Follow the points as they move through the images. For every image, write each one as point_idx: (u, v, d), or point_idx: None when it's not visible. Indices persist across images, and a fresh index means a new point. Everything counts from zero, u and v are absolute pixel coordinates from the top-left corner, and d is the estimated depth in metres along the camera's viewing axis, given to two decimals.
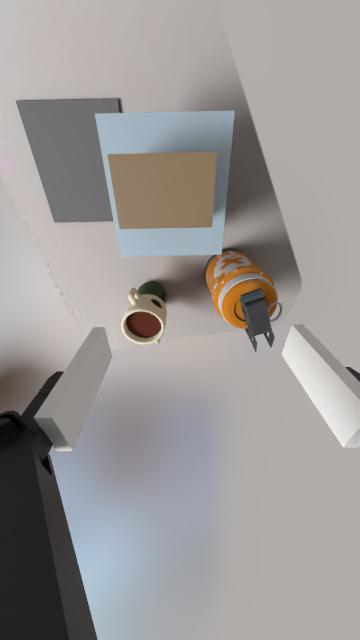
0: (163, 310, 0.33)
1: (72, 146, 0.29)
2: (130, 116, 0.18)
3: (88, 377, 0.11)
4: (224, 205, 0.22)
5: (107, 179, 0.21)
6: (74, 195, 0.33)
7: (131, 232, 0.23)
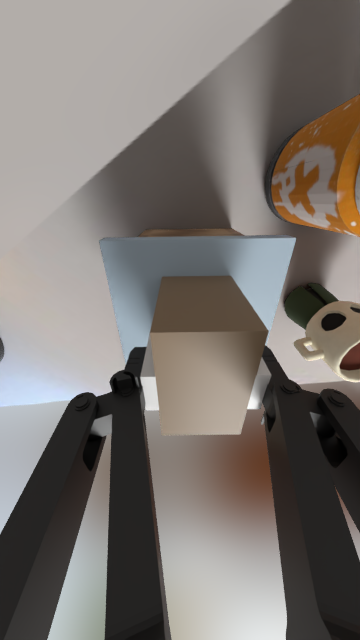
0: (350, 315, 0.20)
1: None
2: (125, 352, 0.18)
3: None
4: (213, 242, 0.13)
5: None
6: None
7: None
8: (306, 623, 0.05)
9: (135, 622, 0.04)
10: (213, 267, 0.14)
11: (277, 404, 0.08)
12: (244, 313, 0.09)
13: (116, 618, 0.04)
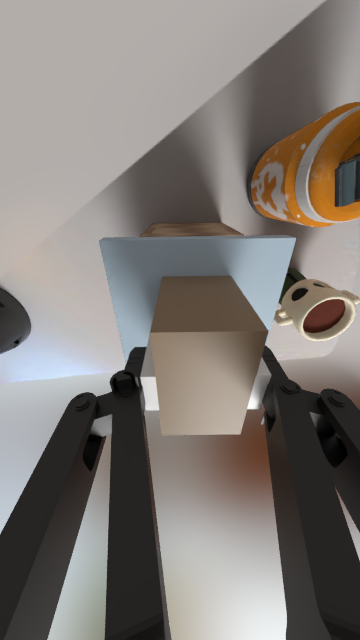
0: (311, 288, 0.27)
1: None
2: (126, 352, 0.18)
3: None
4: (213, 242, 0.13)
5: None
6: None
7: None
8: (306, 622, 0.05)
9: (135, 622, 0.04)
10: (213, 267, 0.14)
11: (277, 404, 0.08)
12: (244, 313, 0.10)
13: (116, 618, 0.04)
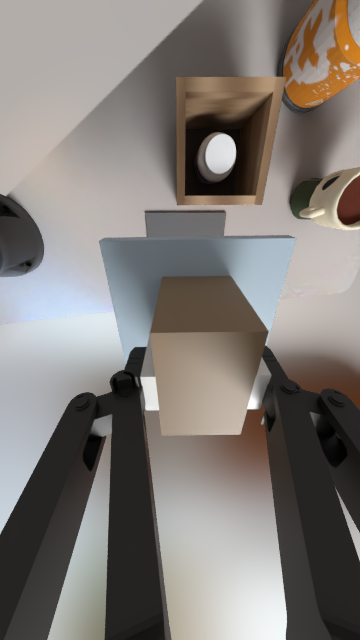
0: (345, 171, 0.26)
1: None
2: (126, 353, 0.18)
3: None
4: (213, 242, 0.13)
5: None
6: None
7: None
8: (307, 623, 0.05)
9: (135, 622, 0.04)
10: (213, 267, 0.14)
11: (277, 404, 0.08)
12: (244, 313, 0.10)
13: (116, 618, 0.04)
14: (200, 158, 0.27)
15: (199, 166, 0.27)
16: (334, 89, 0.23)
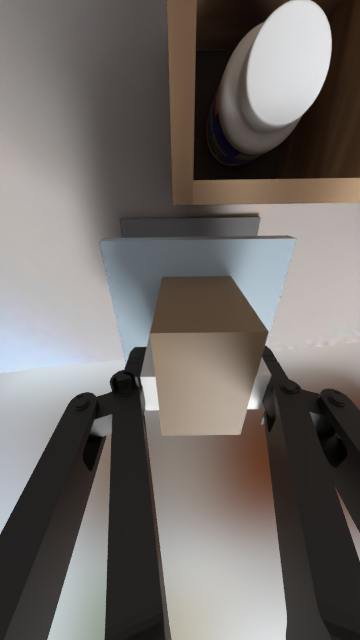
0: None
1: None
2: (125, 353, 0.18)
3: None
4: (213, 242, 0.13)
5: None
6: None
7: None
8: (306, 623, 0.05)
9: (135, 622, 0.04)
10: (213, 267, 0.14)
11: (277, 404, 0.08)
12: (244, 314, 0.10)
13: (116, 618, 0.04)
14: (227, 93, 0.11)
15: (224, 115, 0.12)
16: None
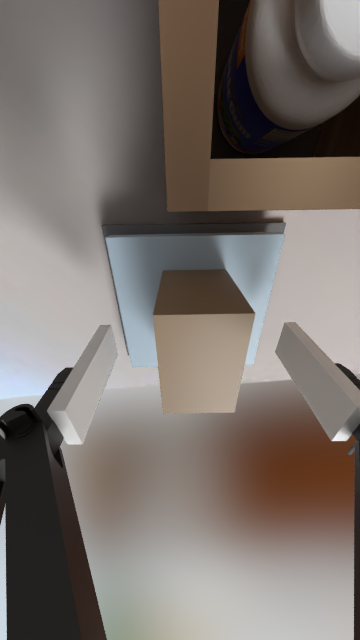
0: None
1: None
2: (129, 343, 0.19)
3: (96, 373, 0.11)
4: (209, 238, 0.14)
5: None
6: None
7: None
8: None
9: None
10: (209, 261, 0.15)
11: None
12: (235, 300, 0.11)
13: None
14: (266, 11, 0.06)
15: (256, 57, 0.07)
16: None
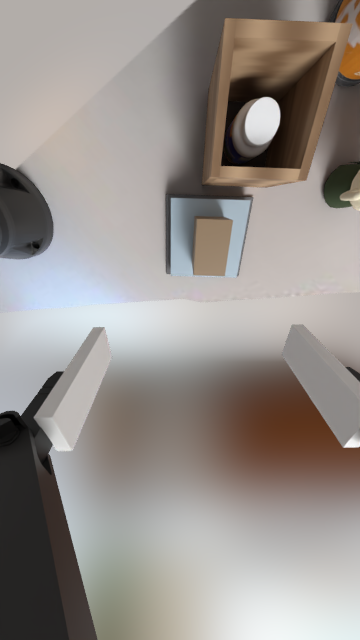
0: None
1: None
2: (172, 258, 0.37)
3: (88, 377, 0.11)
4: (217, 200, 0.32)
5: (195, 275, 0.38)
6: None
7: None
8: None
9: None
10: (216, 212, 0.33)
11: None
12: (226, 219, 0.28)
13: None
14: (236, 128, 0.24)
15: (234, 138, 0.25)
16: None
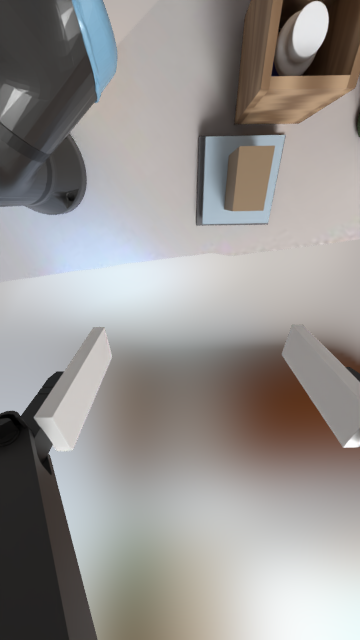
0: None
1: None
2: (204, 205, 0.37)
3: (88, 377, 0.11)
4: (252, 137, 0.32)
5: (227, 223, 0.39)
6: None
7: (255, 212, 0.38)
8: None
9: None
10: None
11: None
12: None
13: None
14: (280, 44, 0.24)
15: (277, 56, 0.25)
16: None
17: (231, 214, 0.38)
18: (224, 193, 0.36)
